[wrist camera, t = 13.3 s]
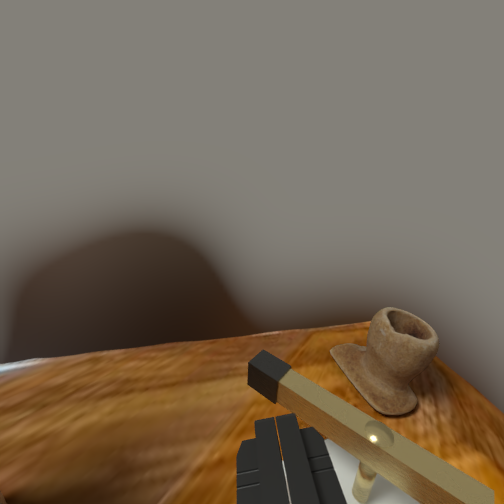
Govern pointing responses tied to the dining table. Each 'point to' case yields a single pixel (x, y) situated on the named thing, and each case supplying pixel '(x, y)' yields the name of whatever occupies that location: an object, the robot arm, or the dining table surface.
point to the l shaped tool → (365, 439)
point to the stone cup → (389, 360)
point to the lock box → (345, 465)
